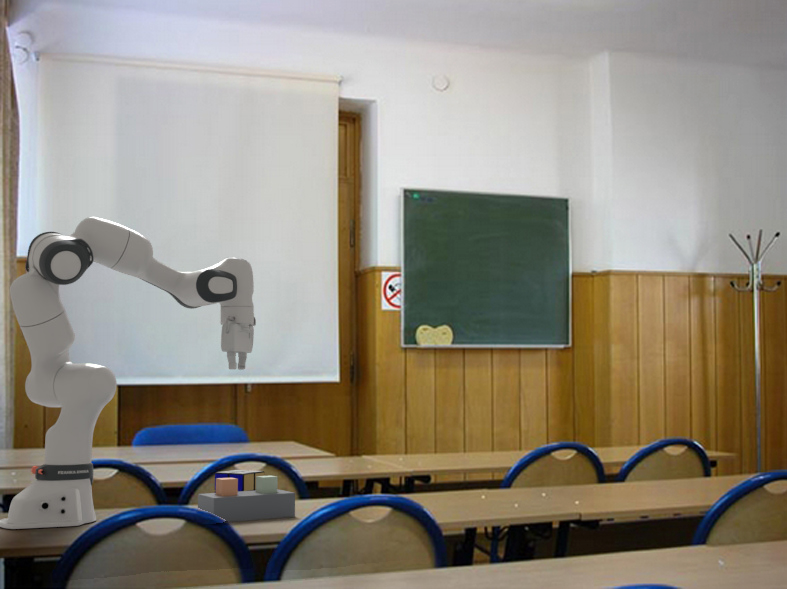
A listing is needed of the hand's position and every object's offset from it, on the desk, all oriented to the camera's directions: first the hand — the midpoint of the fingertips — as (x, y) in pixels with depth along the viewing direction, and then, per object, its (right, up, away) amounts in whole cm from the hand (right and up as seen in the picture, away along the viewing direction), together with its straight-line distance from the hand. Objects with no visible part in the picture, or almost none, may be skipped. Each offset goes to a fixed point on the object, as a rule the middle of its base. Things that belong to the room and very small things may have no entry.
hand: (237, 369), depth 250 cm
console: (+4, -37, -12) cm, 39 cm away
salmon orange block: (0, -32, -15) cm, 36 cm away
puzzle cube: (-1, -39, +7) cm, 40 cm away
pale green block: (+9, -33, -9) cm, 35 cm away
